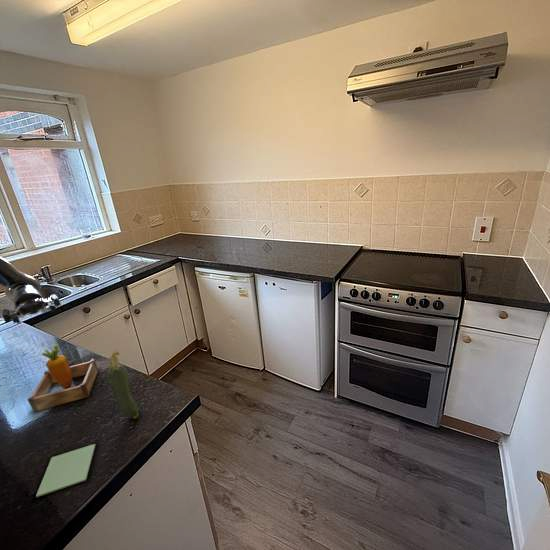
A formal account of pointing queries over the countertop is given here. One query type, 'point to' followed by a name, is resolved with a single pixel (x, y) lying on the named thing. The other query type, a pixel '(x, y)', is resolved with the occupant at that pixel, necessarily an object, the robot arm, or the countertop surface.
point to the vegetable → (121, 387)
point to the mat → (66, 470)
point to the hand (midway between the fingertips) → (35, 314)
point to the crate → (45, 400)
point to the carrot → (59, 368)
